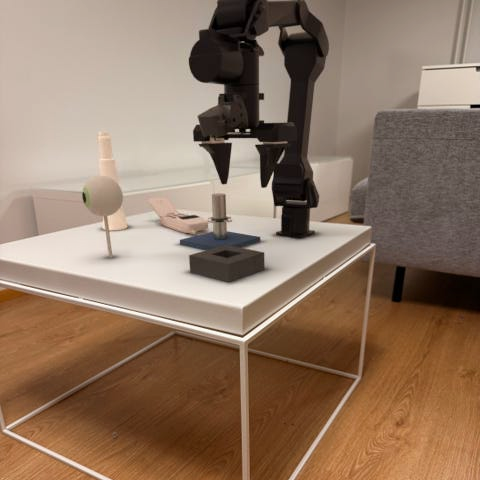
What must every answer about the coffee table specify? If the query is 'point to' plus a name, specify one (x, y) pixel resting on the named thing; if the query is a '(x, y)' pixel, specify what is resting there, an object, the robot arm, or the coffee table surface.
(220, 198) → the bolted post stand
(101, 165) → the cosmetic bottle
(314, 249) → the coffee table surface
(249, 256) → the square hole block
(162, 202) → the mobile phone
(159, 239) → the coffee table surface
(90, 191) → the eyeball on stick
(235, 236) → the mat
